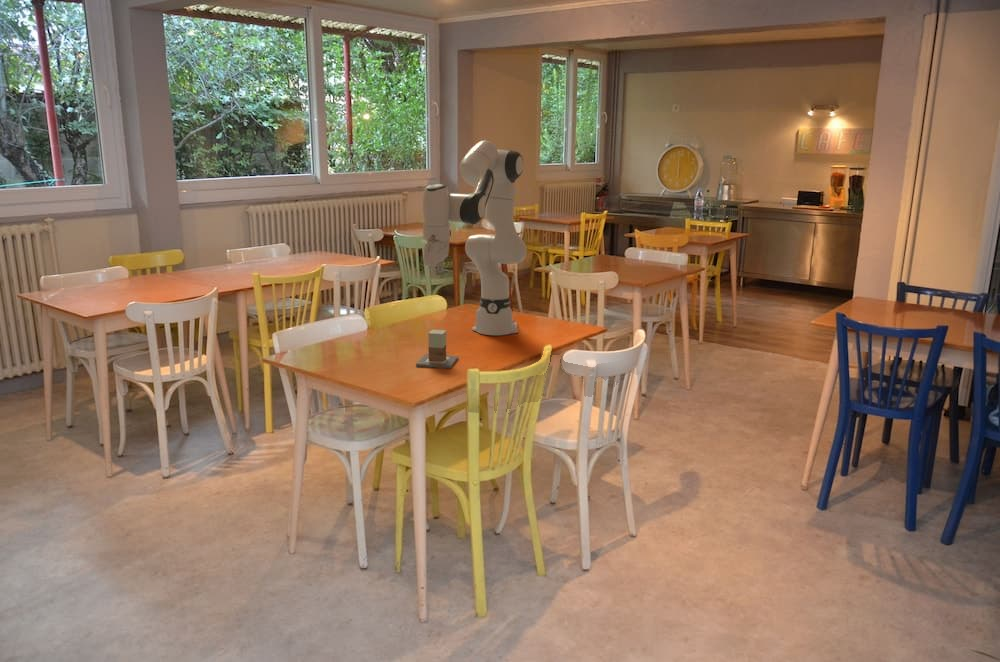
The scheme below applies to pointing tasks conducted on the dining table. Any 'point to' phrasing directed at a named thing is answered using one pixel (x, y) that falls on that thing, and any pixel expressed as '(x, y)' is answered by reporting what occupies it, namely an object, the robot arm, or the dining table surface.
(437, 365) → the base plate
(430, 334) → the sage block
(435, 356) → the walnut block
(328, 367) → the dining table surface
